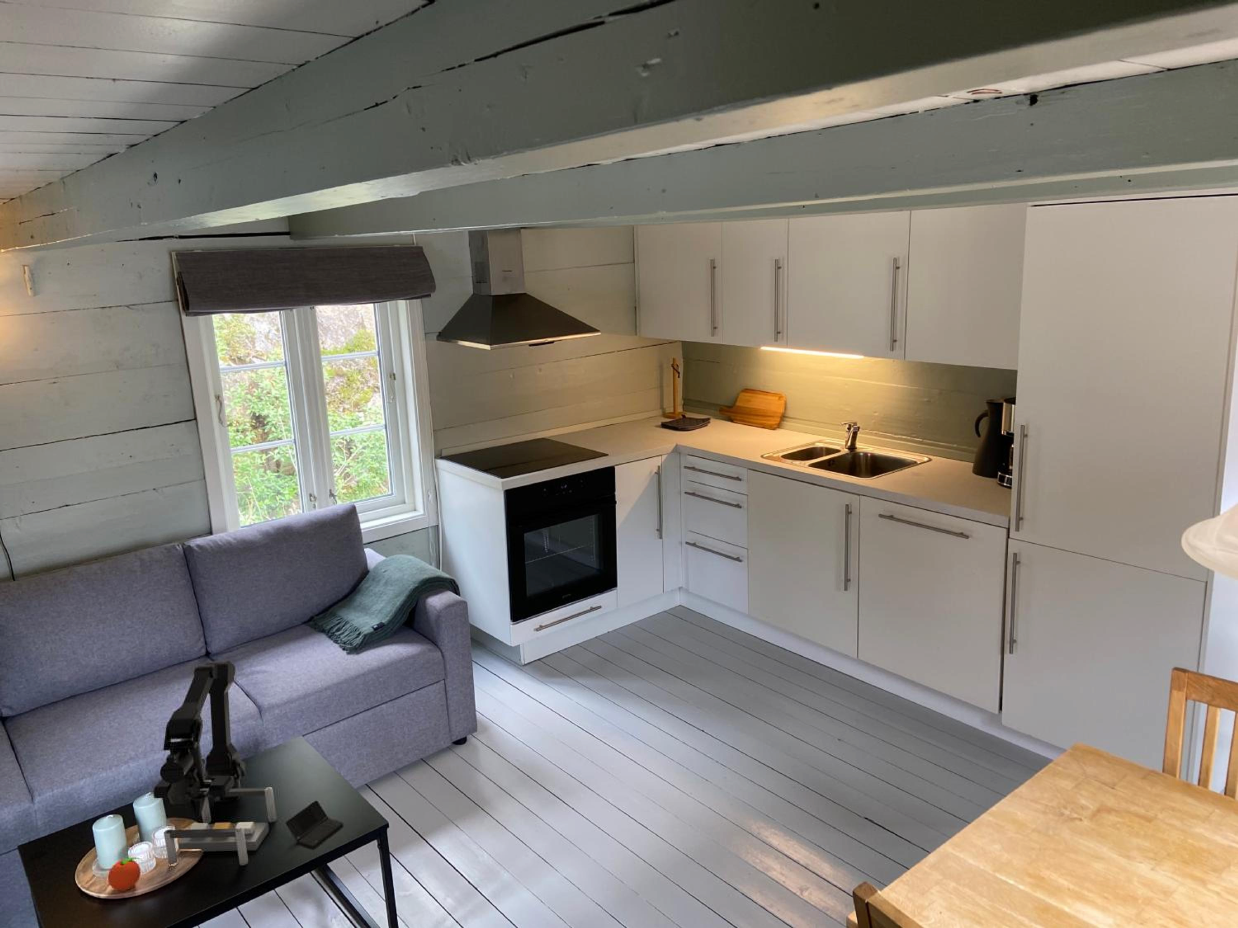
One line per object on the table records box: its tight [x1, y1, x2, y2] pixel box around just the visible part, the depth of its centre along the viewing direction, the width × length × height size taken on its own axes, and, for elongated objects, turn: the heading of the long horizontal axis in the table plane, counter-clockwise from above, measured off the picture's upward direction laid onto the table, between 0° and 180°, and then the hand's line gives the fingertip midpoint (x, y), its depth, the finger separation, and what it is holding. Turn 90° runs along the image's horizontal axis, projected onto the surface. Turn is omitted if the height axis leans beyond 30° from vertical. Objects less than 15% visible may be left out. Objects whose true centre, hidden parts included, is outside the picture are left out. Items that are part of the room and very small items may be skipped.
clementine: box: [107, 856, 143, 891], centre depth 220 cm, size 8×7×7 cm
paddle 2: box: [235, 821, 255, 834], centre depth 236 cm, size 2×4×2 cm, turn 89°
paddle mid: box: [213, 822, 232, 829], centre depth 236 cm, size 2×4×2 cm, turn 89°
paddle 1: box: [189, 822, 210, 830], centre depth 236 cm, size 2×4×2 cm, turn 88°
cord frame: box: [163, 787, 277, 866], centre depth 236 cm, size 20×20×9 cm
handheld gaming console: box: [285, 800, 344, 849], centre depth 239 cm, size 12×7×10 cm
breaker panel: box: [177, 822, 270, 852], centre depth 237 cm, size 8×20×2 cm, turn 88°
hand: (198, 815), depth 236 cm, fingers closed
